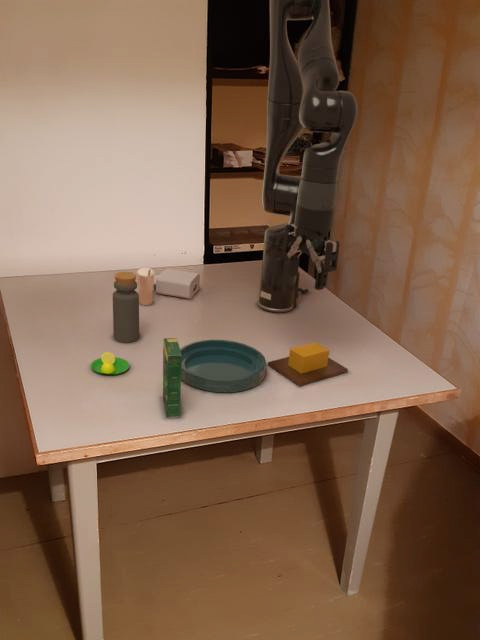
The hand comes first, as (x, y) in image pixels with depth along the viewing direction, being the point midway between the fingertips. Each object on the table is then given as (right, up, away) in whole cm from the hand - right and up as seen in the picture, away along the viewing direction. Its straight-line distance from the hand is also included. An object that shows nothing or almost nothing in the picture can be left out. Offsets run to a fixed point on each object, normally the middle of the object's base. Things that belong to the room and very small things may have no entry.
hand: (305, 282), depth 140 cm
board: (+1, -17, +8) cm, 19 cm away
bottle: (-40, -10, +15) cm, 44 cm away
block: (+1, -17, +8) cm, 19 cm away
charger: (-33, +7, +42) cm, 54 cm away
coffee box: (-27, -27, -10) cm, 39 cm away
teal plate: (-18, -18, +4) cm, 26 cm away
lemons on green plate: (-41, -18, +2) cm, 45 cm away
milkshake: (-38, +1, +33) cm, 50 cm away
